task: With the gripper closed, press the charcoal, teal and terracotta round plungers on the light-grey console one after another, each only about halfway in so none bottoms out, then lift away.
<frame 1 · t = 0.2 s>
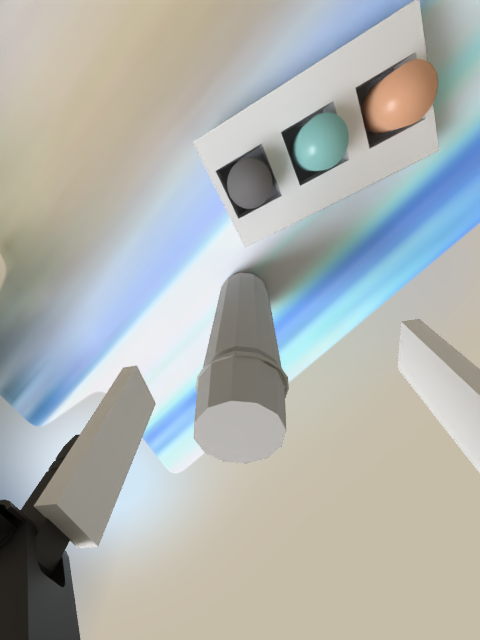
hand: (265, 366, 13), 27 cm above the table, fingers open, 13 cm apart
water bottle: (244, 298, 41), on the table
button terracotta: (395, 101, 25), point 6 cm above the table, slide at 0.0 cm
console: (306, 150, 31), on the table
button teal: (317, 145, 26), point 6 cm above the table, slide at 0.0 cm
button charcoal: (249, 183, 28), point 6 cm above the table, slide at 0.0 cm
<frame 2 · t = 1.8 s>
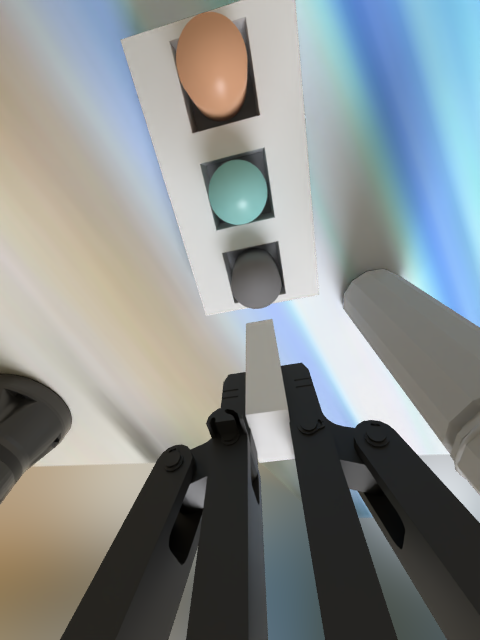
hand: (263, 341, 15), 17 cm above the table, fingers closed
water bottle: (377, 295, 33), on the table
button terracotta: (215, 76, 19), point 6 cm above the table, slide at 0.0 cm
console: (240, 189, 27), on the table
button teal: (238, 192, 22), point 6 cm above the table, slide at 0.0 cm
button charcoal: (255, 276, 26), point 6 cm above the table, slide at 0.0 cm
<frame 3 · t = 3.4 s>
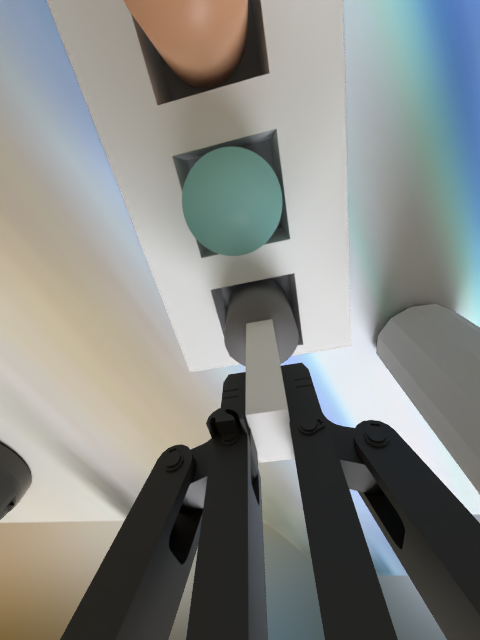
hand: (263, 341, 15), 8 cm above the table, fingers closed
water bottle: (421, 335, 24), on the table
console: (237, 194, 19), on the table
button teal: (234, 201, 14), point 6 cm above the table, slide at 0.0 cm
button charcoal: (259, 319, 18), point 5 cm above the table, slide at 0.7 cm, touching gripper
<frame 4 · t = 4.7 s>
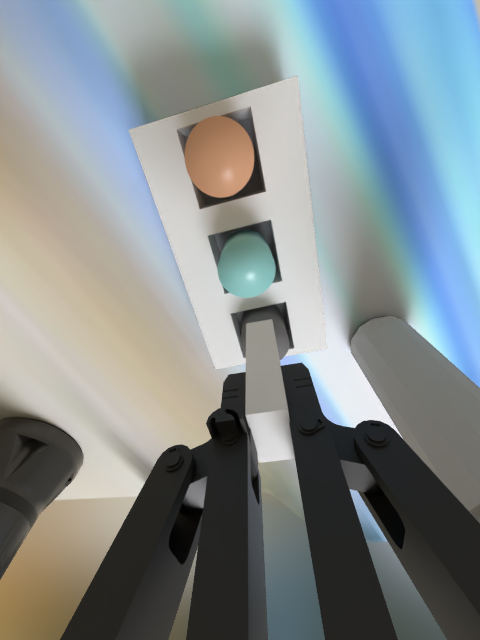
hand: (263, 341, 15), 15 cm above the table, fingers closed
water bottle: (384, 338, 33), on the table
button terracotta: (222, 161, 19), point 6 cm above the table, slide at 0.0 cm
console: (246, 246, 27), on the table
button teal: (246, 261, 22), point 6 cm above the table, slide at 0.0 cm
button charcoal: (263, 331, 26), point 5 cm above the table, slide at 0.8 cm
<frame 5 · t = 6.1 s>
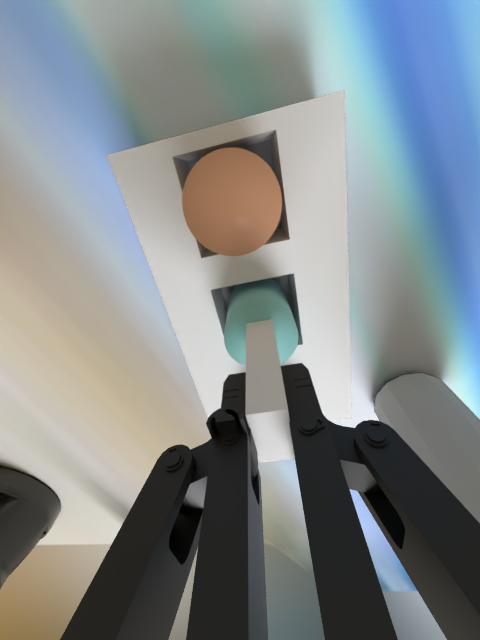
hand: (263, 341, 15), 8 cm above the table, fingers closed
water bottle: (413, 394, 28), on the table
button terracotta: (234, 201, 14), point 6 cm above the table, slide at 0.0 cm
console: (256, 290, 22), on the table
button teal: (259, 319, 18), point 5 cm above the table, slide at 0.6 cm, touching gripper
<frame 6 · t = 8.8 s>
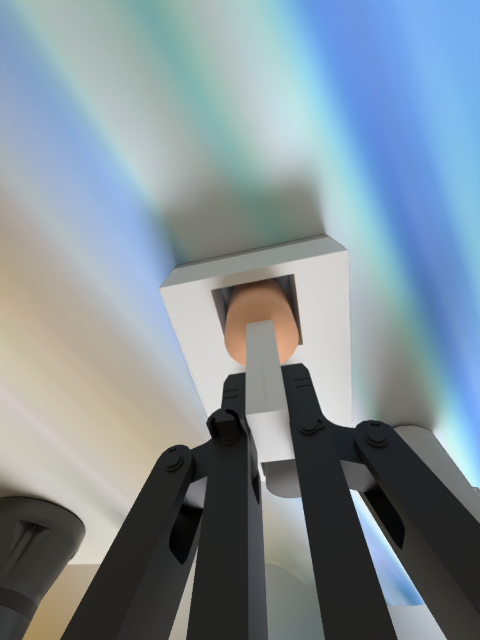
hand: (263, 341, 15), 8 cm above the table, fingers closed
water bottle: (408, 441, 31), on the table
button terracotta: (259, 319, 18), point 5 cm above the table, slide at 0.6 cm, touching gripper
console: (270, 361, 26), on the table
button charcoal: (287, 456, 25), point 5 cm above the table, slide at 0.8 cm
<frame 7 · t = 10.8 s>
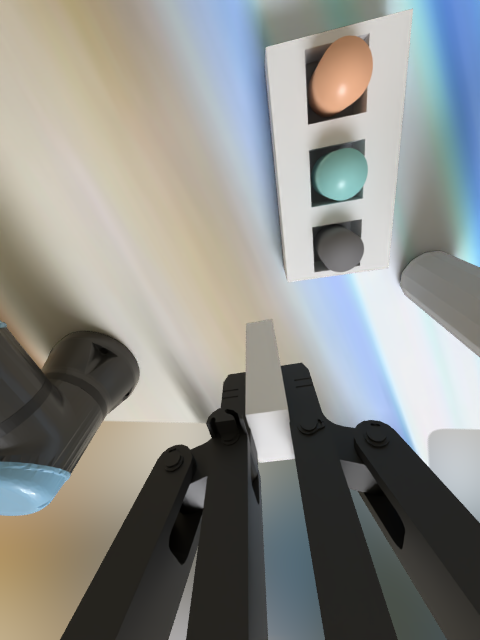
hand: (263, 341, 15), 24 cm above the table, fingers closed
water bottle: (430, 275, 37), on the table
button terracotta: (336, 81, 24), point 5 cm above the table, slide at 0.8 cm
console: (325, 174, 32), on the table
button teal: (336, 175, 27), point 5 cm above the table, slide at 0.8 cm
button charcoal: (336, 247, 31), point 5 cm above the table, slide at 0.8 cm
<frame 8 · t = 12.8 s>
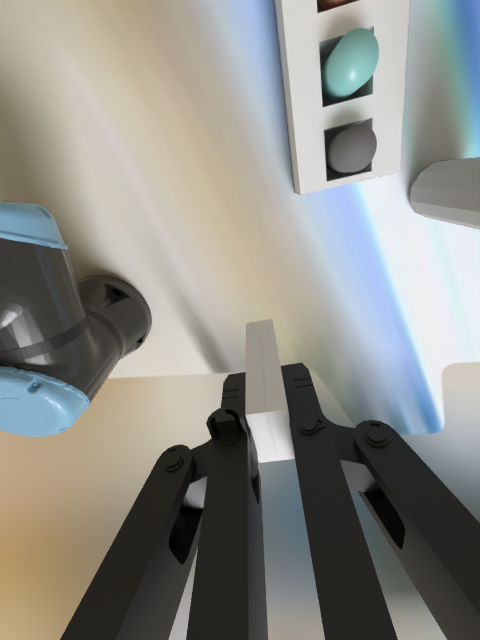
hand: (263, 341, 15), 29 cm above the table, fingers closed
water bottle: (438, 190, 38), on the table
console: (333, 83, 32), on the table
button teal: (346, 68, 28), point 5 cm above the table, slide at 0.8 cm
button charcoal: (348, 151, 31), point 5 cm above the table, slide at 0.8 cm
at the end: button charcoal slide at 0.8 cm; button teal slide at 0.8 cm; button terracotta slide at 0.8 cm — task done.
